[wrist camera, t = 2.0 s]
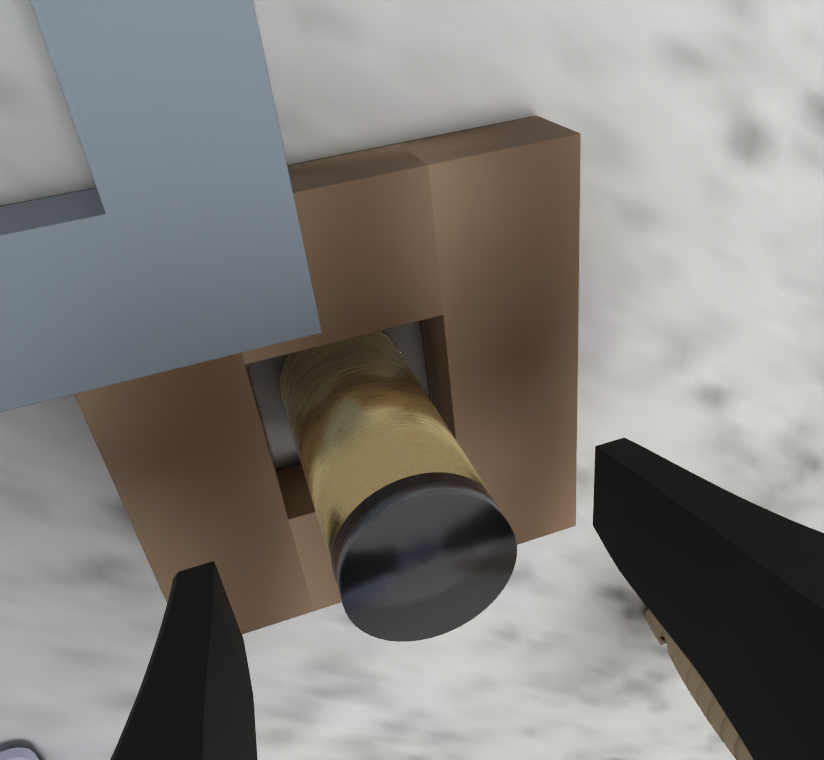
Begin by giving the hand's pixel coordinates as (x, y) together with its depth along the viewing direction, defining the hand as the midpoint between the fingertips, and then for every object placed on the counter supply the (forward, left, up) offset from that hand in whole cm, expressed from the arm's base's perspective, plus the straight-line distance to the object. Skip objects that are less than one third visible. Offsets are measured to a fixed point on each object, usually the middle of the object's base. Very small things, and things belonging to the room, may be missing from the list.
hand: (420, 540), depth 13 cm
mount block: (0, 0, -6) cm, 6 cm away
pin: (0, 0, -6) cm, 6 cm away
